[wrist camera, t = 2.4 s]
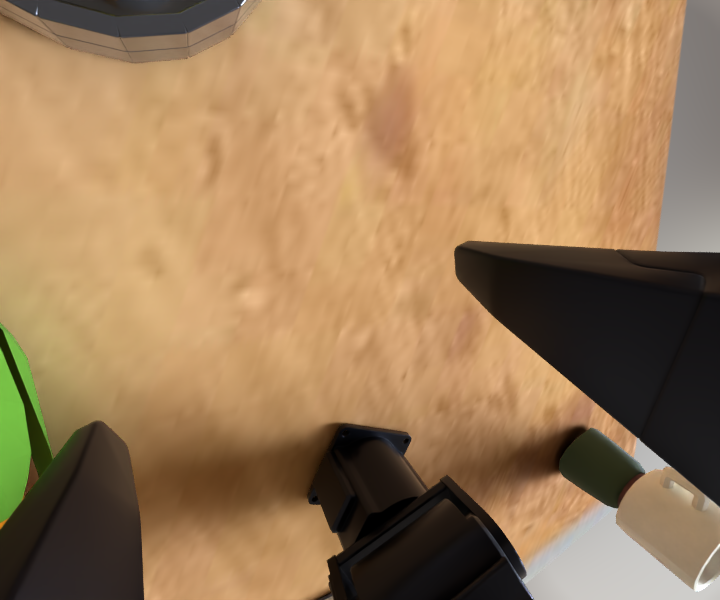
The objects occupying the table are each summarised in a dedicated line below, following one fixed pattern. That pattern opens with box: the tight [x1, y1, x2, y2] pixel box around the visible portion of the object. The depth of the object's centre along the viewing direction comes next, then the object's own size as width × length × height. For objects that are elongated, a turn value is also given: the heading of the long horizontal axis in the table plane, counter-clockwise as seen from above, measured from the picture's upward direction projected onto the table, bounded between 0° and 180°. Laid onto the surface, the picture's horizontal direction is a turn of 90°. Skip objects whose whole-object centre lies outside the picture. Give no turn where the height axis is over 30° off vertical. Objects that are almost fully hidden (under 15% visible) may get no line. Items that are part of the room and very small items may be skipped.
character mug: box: [559, 428, 720, 592], centre depth 34 cm, size 11×7×13 cm, turn 9°
